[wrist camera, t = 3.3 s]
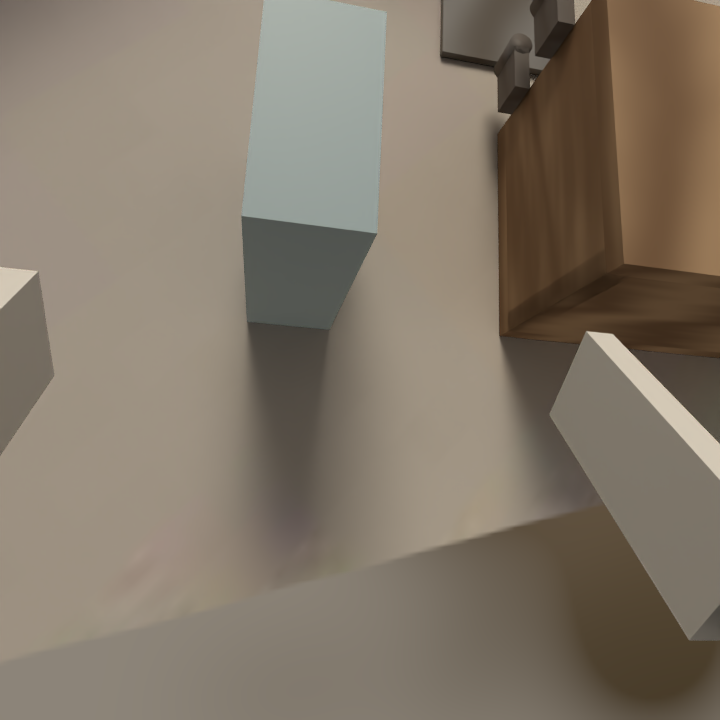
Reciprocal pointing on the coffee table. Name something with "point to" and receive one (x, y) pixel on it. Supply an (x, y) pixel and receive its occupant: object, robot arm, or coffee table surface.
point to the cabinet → (604, 166)
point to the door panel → (312, 159)
